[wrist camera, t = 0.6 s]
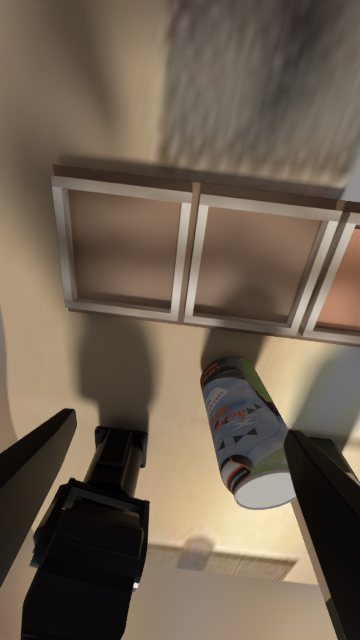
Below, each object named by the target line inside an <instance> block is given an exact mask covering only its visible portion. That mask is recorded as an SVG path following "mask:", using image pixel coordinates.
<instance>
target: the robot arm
mask: <svg viewBox="0 0 360 640" xmlns="http://www.w3.org/2000/svg"><path fill="white" fill-rule="evenodd" d="M76 427H77V419H76V412H75V410H74V409H69V408H65V409H63V410H61V411H60V412H58V413H57V414H56V415H54V416H53V417H51V418H50V419H48V420H47V421H46V422H44V423H43V424H41V425H40V426H39V427H37V428H36V429H34V430H33V431H32V432H30V433H29V434H27V435H26V436H24V437H23V438H22V439H20V440H19V441H17V442H16V443H15V444H13V445H12V446H10V447H9V448H8V449H6V450H5V451H3V452H2V453H1V454H0V587H1V585H2V584H3V582H4V580H5V577H6V576H7V574H8V572H9V570H10V567H11V566H12V564H13V562H14V560H15V558H16V556H17V554H18V552H19V550H20V548H21V546H22V544H23V542H24V540H25V538H26V536H27V534H28V532H29V530H30V528H31V526H32V524H33V522H34V520H35V518H36V516H37V514H38V512H39V510H40V508H41V506H42V504H43V502H44V500H45V498H46V496H47V494H48V492H49V490H50V488H51V486H52V484H53V482H54V480H55V478H56V476H57V474H58V472H59V470H60V468H61V466H62V464H63V461H64V459H65V456H66V454H67V451H68V448H69V446H70V443H71V441H72V438H73V436H74V433H75V430H76ZM147 442H148V433H146V432H143V431H135V430H127V429H119V428H111V427H103V426H97V427H96V429H95V445H96V452H95V454H94V457H93V459H92V462H91V464H90V466H89V469H88V471H87V474H86V476H85V478H84V481H83V482H81V481H78V480H75V478H70V480H69V482H68V484H67V483H66V484H63V485H60V487H59V489H58V491H57V493H56V495H55V497H54V499H53V501H52V503H51V505H50V506H49V508H48V510H47V512H46V513H45V515H44V517H43V519H42V520H41V522H40V524H39V526H38V527H37V529H36V531H35V533H34V536H33V540H34V545H35V548H34V550H33V553H34V556H33V558H32V560H31V563H30V566H31V567H35V568H38V569H37V572H36V574H35V576H34V579H33V581H32V583H31V586H30V588H29V590H28V593H27V595H26V597H25V600H24V603H23V612H22V627H21V640H121V638H122V636H123V634H124V631H125V627H126V621H127V615H128V609H129V603H130V600H131V595H132V592H133V591H135V590H136V589H137V587H138V584H139V582H140V579H141V576H142V572H143V568H144V564H145V559H146V552H147V543H148V523H149V503H150V501H147V500H140V499H137V498H134V493H135V489H136V484H137V479H138V475H139V470H140V468H144V467H145V465H146V455H147ZM283 446H284V452H285V456H286V460H287V464H288V468H289V472H290V476H291V480H292V484H293V488H294V491H295V494H296V497H297V500H298V503H299V506H300V509H301V512H302V515H303V517H304V520H305V523H306V526H307V529H308V532H309V535H310V538H311V541H312V543H313V546H314V549H315V552H316V555H317V558H318V561H319V564H320V567H321V569H322V572H323V575H324V578H325V581H326V584H327V587H328V590H329V593H330V595H331V598H332V601H333V604H334V607H335V610H336V613H337V616H338V619H339V621H340V624H341V627H342V630H343V633H344V636H345V639H346V640H360V486H359V485H358V484H357V483H356V482H355V481H354V480H353V479H352V478H351V477H350V476H349V475H348V474H347V473H345V472H344V471H343V470H342V469H341V468H340V467H339V466H338V465H337V464H336V463H335V462H334V461H333V460H331V459H330V458H329V457H328V456H327V455H326V454H325V453H324V452H323V451H322V450H321V449H320V448H319V447H317V446H316V445H315V444H314V443H313V442H312V441H311V440H310V439H309V438H308V437H307V436H306V435H304V434H303V433H302V432H301V431H300V430H294V429H290V430H288V432H287V435H286V438H285V440H284V444H283Z"/></svg>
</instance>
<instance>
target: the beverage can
mask: <svg viewBox="0 0 360 640" xmlns="http://www.w3.org/2000/svg"><path fill="white" fill-rule="evenodd" d="M200 384H201V389H202V394H203V398H204V403H205V407H206V412H207V416H208V421H209V425H210V430H211V434H212V439H213V443H214V448H215V452H216V457H217V461H218V466H219V470H220V475H221V478H222V481H223V483H224V485H225V486H226V487H227V489H228V490H229V491H230V492H231V493H232V494H233V495H234V499H235V501H236V503H237V504H238V505H239V506H241V507H243V508H246V509H251V510H264V509H271V508H275V507H279V506H282V505H285V504H287V503H289V502H291V501H293V500H295V499H296V498H297V497H296V494H295V491H294V488H293V484H292V480H291V476H290V472H289V468H288V464H287V460H286V456H285V452H284V446H283V444H284V440H285V438H286V435H287V432H288V428H287V426H286V424H285V423H284V421H283V419H282V417H281V415H280V414H279V412H278V410H277V408H276V406H275V405H274V403H273V401H272V399H271V397H270V396H269V394H268V392H267V390H266V388H265V387H264V385H263V383H262V381H261V379H260V378H259V376H258V374H257V372H256V370H255V369H254V367H253V365H252V364H251V363H250V362H249V361H247V360H245V359H243V358H240V357H225V358H221V359H218V360H216V361H214V362H213V363H211V364H210V365H209V366H207V368H206V369H205V370H204V371H203V373H202V375H201V379H200Z"/></svg>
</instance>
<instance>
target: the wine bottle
mask: <svg viewBox="0 0 360 640" xmlns="http://www.w3.org/2000/svg"><path fill="white" fill-rule="evenodd" d="M308 438H309V439H310V440H311V441H312V442H313V443H314V444H315V445H316V446H317V447H319V448H320V449H321V450H322V451H323V452H324V453H325V454H326V455H327V456H328V457H329V458H330V459H331V460H333V461H334V462H335V463H336V464H337V465H338V466H339V467H340V468H341V469H342V470H343V471H344V472H345V473H347V474H348V475H349V476H350V477H351V478H352V479H353V480H354V481H355V482H356V483H357V484H358V485H359V486H360V482H359V480H358V478H357V477H356V475H355V474H354V472H353V470H352V469H351V467H350V466H349V464H348V463H347V461H346V459H345V458H344V456H343V455H342V453H341V452H340V450H339V449H338V448H337V447H336V445H335V444H334V443H333V442H332V440H330V439H321V438H312V437H308ZM291 504H292V507H293V510H294V513H295V516H296V519H297V522H298V525H299V528H300V531H301V534H302V537H303V539H304V542H305V545H306V548H307V551H308V554H309V557H310V560H311V563H312V566H313V569H314V571H315V574H316V577H317V580H318V583H319V586H320V589H321V592H322V595H323V597H324V601H325V603H326V606H327V609H328V612H329V615H330V618H331V621H332V624H333V627H334V629H335V633H336V635H337V638H338V640H346V639H345V636H344V633H343V630H342V627H341V624H340V621H339V619H338V616H337V613H336V610H335V607H334V604H333V601H332V598H331V595H330V593H329V590H328V587H327V584H326V581H325V578H324V575H323V572H322V569H321V567H320V564H319V561H318V558H317V555H316V552H315V549H314V546H313V543H312V541H311V538H310V535H309V532H308V529H307V526H306V523H305V520H304V517H303V515H302V512H301V509H300V506H299V503H298V500H297V498H296V499H295V500H293V501H291Z"/></svg>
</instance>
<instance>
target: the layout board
mask: <svg viewBox="0 0 360 640" xmlns="http://www.w3.org/2000/svg"><path fill="white" fill-rule="evenodd" d="M53 169H54V176H52V175H51V183H52V192H53V201H54V209H55V218H56V227H57V236H58V245H59V254H60V263H61V272H62V281H63V290H64V299H65V307H66V308H68V311H73V312H81V313H90V314H98V315H106V316H114V317H122V318H130V319H138V320H146V321H154V322H162V323H170V324H178V325H186V326H195V327H203V328H211V329H219V330H227V331H235V332H243V333H251V334H259V335H267V336H275V337H283V338H291V339H299V340H308V341H316V342H324V343H332V344H340V345H348V346H356V347H360V203H359V202H351V201H343V200H335V199H327V198H319V197H311V196H303V195H295V194H286V193H278V192H270V191H262V190H254V189H246V188H238V187H230V186H222V185H214V184H206V183H197V182H189V181H181V180H173V179H165V178H157V177H149V176H141V175H133V174H125V173H117V172H108V171H100V170H92V169H84V168H76V167H68V166H60V165H53Z"/></svg>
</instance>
